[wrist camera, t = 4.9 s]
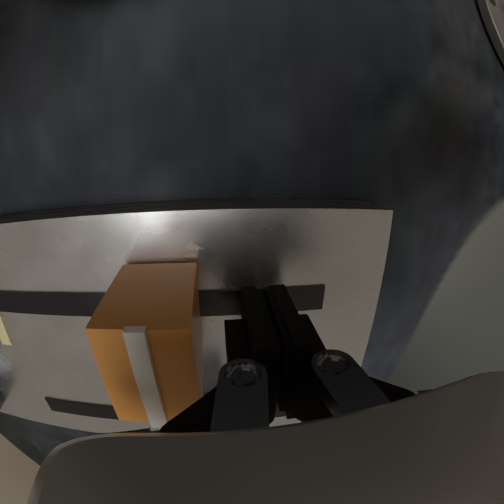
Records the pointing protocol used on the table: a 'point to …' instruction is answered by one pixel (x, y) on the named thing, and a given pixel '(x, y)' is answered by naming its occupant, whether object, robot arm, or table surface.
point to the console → (209, 285)
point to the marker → (4, 333)
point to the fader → (150, 341)
